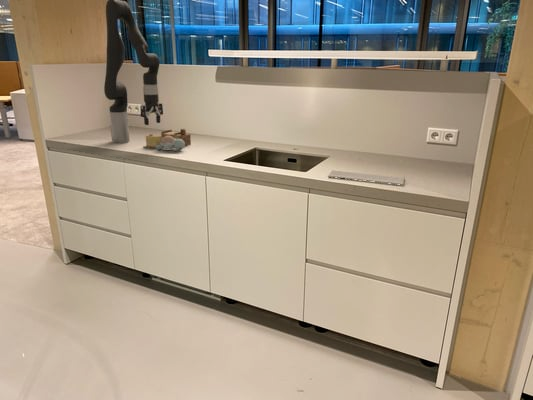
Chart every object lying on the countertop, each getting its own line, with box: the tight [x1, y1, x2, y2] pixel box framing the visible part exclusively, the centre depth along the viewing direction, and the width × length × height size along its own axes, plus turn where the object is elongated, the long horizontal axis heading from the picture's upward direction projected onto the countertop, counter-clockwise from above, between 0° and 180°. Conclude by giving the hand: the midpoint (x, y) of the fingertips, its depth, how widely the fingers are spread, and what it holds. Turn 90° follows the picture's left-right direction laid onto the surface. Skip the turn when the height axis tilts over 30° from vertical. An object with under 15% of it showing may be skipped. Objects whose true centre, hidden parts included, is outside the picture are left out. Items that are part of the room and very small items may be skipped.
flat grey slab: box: [327, 169, 405, 186], centre depth 175 cm, size 31×3×12 cm
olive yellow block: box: [145, 133, 163, 148], centre depth 224 cm, size 8×5×7 cm, turn 60°
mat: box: [143, 145, 158, 151], centre depth 226 cm, size 10×8×1 cm
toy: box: [155, 136, 186, 152], centre depth 218 cm, size 12×10×15 cm
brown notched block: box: [160, 128, 192, 147], centre depth 233 cm, size 15×8×9 cm, turn 60°
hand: (152, 123), depth 222 cm, fingers open, 8 cm apart
